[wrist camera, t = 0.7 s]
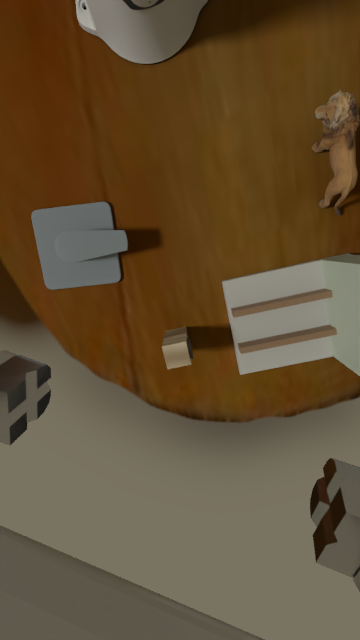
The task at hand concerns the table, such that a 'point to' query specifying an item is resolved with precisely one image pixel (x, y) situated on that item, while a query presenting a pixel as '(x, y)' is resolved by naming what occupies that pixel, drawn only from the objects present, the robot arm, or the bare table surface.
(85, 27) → the robot arm
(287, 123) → the table surface
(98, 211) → the shower valve
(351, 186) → the lion figurine
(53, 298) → the table surface
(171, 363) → the beige wooden block
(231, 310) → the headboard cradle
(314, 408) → the table surface
